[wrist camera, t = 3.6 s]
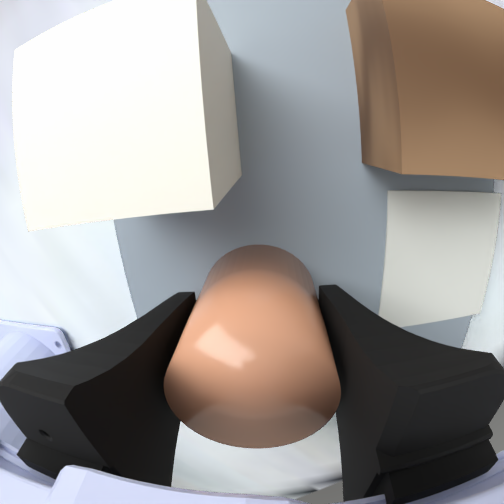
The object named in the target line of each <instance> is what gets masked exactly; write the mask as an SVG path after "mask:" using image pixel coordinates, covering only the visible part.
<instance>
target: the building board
mask: <svg viewBox="0 0 504 504" xmlns="http://www.w3.org/2000/svg"><path fill="white" fill-rule="evenodd" d="M207 2H208V4H209V6H210V8H211V10H212V13H213V15H214V17H215V19H216V21H217V23H218V25H219V27H220V29H221V32H222V34H223V36H224V38H225V40H226V42H227V45H228V47H229V49H230V51H231V57H232V68H233V80H234V92H235V103H236V115H237V126H238V137H239V149H240V160H241V171H242V176H241V177H240V178H239V179H238V180H237V182H236V183H235V184H234V185H233V186H232V188H231V189H230V190H229V191H228V193H227V194H226V195H225V196H224V197H223V199H222V200H221V201H220V202H219V204H218V205H217V206H216V207H215V208H214V210H202V211H191V212H180V213H169V214H160V215H150V216H141V217H132V218H123V219H115V220H114V225H115V230H116V235H117V239H118V244H119V249H120V253H121V258H122V262H123V266H124V270H125V274H126V278H127V282H128V286H129V290H130V294H131V298H132V301H133V305H134V308H135V312H136V315H137V319H138V318H140V317H142V316H143V315H145V314H146V313H148V312H149V311H151V310H152V309H153V308H155V307H156V306H158V305H159V304H161V303H162V302H164V301H165V300H167V299H168V298H169V297H171V296H173V295H174V294H176V293H178V292H195V296H196V300H197V298H198V296H199V293H200V291H201V289H202V287H203V284H204V282H205V280H206V278H207V275H208V273H209V272H210V270H211V268H212V267H213V265H214V264H215V263H216V262H217V261H218V260H219V259H220V258H221V257H222V256H224V255H225V254H227V253H228V252H230V251H232V250H234V249H237V248H239V247H243V246H247V245H270V246H274V247H278V248H281V249H283V250H286V251H287V252H289V253H291V254H293V255H294V256H295V257H297V258H298V259H299V260H300V261H301V262H302V263H303V264H304V265H305V267H306V268H307V269H308V271H309V273H310V275H311V277H312V279H313V282H314V286H315V289H316V293H317V297H318V300H319V286H320V285H334V284H336V285H337V286H339V287H340V288H342V289H343V290H344V291H345V292H347V293H348V294H349V295H350V296H352V297H353V298H354V299H356V300H357V301H358V302H360V303H361V304H362V305H364V306H365V307H367V308H368V309H369V310H371V311H372V312H374V313H376V314H377V315H379V316H380V317H382V318H383V319H385V320H387V321H389V322H390V323H392V324H394V325H396V326H398V327H400V328H402V329H404V330H406V331H408V332H411V333H413V334H415V335H418V336H421V337H423V338H426V339H429V340H431V341H435V342H438V343H441V344H445V345H449V346H453V347H457V348H462V345H463V342H464V339H465V336H466V333H467V330H468V326H469V323H470V320H471V316H472V315H474V314H479V313H480V312H481V308H482V305H483V301H484V297H485V293H486V289H487V285H488V281H489V276H490V271H491V267H492V262H493V256H494V251H495V245H496V238H497V231H498V224H499V215H500V205H501V193H493V185H494V179H487V178H475V177H460V176H441V175H412V174H399V173H396V172H392V171H389V170H385V169H382V168H378V167H375V166H371V165H367V164H363V163H362V154H361V134H360V118H359V106H358V95H357V85H356V76H355V68H354V60H353V53H352V46H351V39H350V33H349V27H348V21H347V16H346V8H347V7H348V5H349V3H350V2H351V0H207Z"/></svg>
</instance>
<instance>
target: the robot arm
mask: <svg viewBox="0 0 504 504" xmlns="http://www.w3.org/2000/svg"><path fill="white" fill-rule="evenodd" d="M195 303H196V296H195V292H178V293H176V294H174V295H173V296H171V297H169V298H168V299H167V300H165V301H164V302H162V303H161V304H159V305H158V306H156V307H155V308H153V309H152V310H151V311H149V312H148V313H146V314H145V315H143V316H142V317H140V318H138V319H137V320H135V321H134V322H132V323H130V324H129V325H127V326H126V327H124V328H122V329H120V330H119V331H117V332H115V333H113V334H111V335H109V336H107V337H105V338H103V339H101V340H98V341H96V342H94V343H91V344H88V345H86V346H83V347H81V348H78V349H75V350H72V351H71V350H70V347H69V345H68V343H67V340H66V338H65V336H64V334H63V332H62V331H61V330H60V329H59V328H56V327H49V326H40V325H32V324H24V323H17V322H10V321H4V320H0V504H310V503H306V502H302V501H298V500H294V499H290V498H287V497H276V496H262V495H252V494H233V493H217V492H206V491H196V490H188V489H181V488H174V487H171V482H172V472H173V464H174V456H175V449H176V443H177V436H178V431H179V426H180V420H179V418H178V417H177V416H176V415H175V414H174V413H173V411H172V410H171V408H170V406H169V404H168V402H167V400H166V397H165V394H164V377H165V374H166V371H167V368H168V366H169V364H170V361H171V359H172V356H173V354H174V352H175V349H176V347H177V345H178V342H179V340H180V337H181V335H182V333H183V330H184V328H185V326H186V323H187V321H188V319H189V316H190V314H191V312H192V309H193V307H194V305H195ZM319 304H320V307H321V311H322V315H323V318H324V322H325V326H326V330H327V333H328V337H329V341H330V345H331V349H332V353H333V357H334V361H335V365H336V369H337V373H338V377H339V381H340V387H341V398H340V402H339V406H338V408H337V410H336V417H337V425H338V432H339V441H340V451H341V463H342V477H343V496H344V497H343V499H344V502H338V503H331V504H504V450H503V451H501V452H499V453H498V454H496V453H495V451H494V449H493V447H492V445H491V443H490V442H489V439H490V438H491V437H492V435H493V433H492V430H491V429H490V427H489V425H488V424H489V423H490V421H491V420H492V418H493V416H494V415H495V413H496V412H497V410H498V409H499V407H500V405H501V403H502V402H503V400H504V368H503V367H502V366H501V364H500V363H499V362H498V361H497V359H496V358H495V357H494V355H493V354H492V353H486V352H480V351H473V350H466V349H461V348H457V347H453V346H449V345H445V344H441V343H438V342H435V341H431V340H429V339H426V338H423V337H421V336H418V335H415V334H413V333H411V332H408V331H406V330H404V329H402V328H400V327H398V326H396V325H394V324H392V323H390V322H389V321H387V320H385V319H383V318H382V317H380V316H379V315H377V314H376V313H374V312H372V311H371V310H369V309H368V308H367V307H365V306H364V305H362V304H361V303H360V302H358V301H357V300H356V299H354V298H353V297H352V296H350V295H349V294H348V293H347V292H345V291H344V290H343V289H342V288H340V287H339V286H337V285H336V284H334V285H320V286H319Z"/></svg>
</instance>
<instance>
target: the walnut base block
mask: <svg viewBox="0 0 504 504" xmlns="http://www.w3.org/2000/svg"><path fill="white" fill-rule="evenodd" d="M346 16H347V21H348V27H349V33H350V39H351V46H352V53H353V60H354V68H355V76H356V85H357V95H358V106H359V118H360V134H361V154H362V163H363V164H367V165H371V166H375V167H378V168H382V169H385V170H389V171H392V172H396V173H399V174H412V175H441V176H460V177H475V178H487V179H499V180H504V9H503V8H501V7H499V6H497V5H495V4H492V3H490V2H488V1H486V0H351V2H350V3H349V5H348V7H347V8H346Z"/></svg>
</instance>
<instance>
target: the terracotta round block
mask: <svg viewBox="0 0 504 504" xmlns="http://www.w3.org/2000/svg"><path fill="white" fill-rule="evenodd" d="M164 394H165V397H166V400H167V402H168V404H169V406H170V408H171V410H172V411H173V413H174V414H175V415H176V416H177V417H178V418H179V420H180V421H182V422H183V423H184V424H185V425H186V426H187V427H189V428H190V429H192V430H193V431H195V432H196V433H198V434H200V435H202V436H204V437H206V438H208V439H210V440H213V441H216V442H219V443H222V444H226V445H230V446H235V447H242V448H271V447H278V446H283V445H287V444H291V443H294V442H297V441H300V440H302V439H304V438H306V437H308V436H310V435H312V434H314V433H315V432H317V431H318V430H320V429H321V428H322V427H323V426H324V425H326V423H327V422H328V421H329V420H330V419H331V418H332V416H333V415H334V414H335V412H336V410H337V408H338V406H339V402H340V398H341V387H340V381H339V377H338V373H337V369H336V365H335V361H334V357H333V353H332V349H331V345H330V341H329V337H328V333H327V330H326V326H325V322H324V318H323V315H322V311H321V307H320V304H319V300H318V297H317V293H316V289H315V286H314V282H313V279H312V277H311V275H310V273H309V271H308V269H307V268H306V267H305V265H304V264H303V263H302V262H301V261H300V260H299V259H298V258H297V257H295V256H294V255H293V254H291V253H289V252H287V251H286V250H283V249H281V248H278V247H274V246H270V245H247V246H243V247H239V248H237V249H234V250H232V251H230V252H228V253H227V254H225V255H224V256H222V257H221V258H220V259H219V260H218V261H217V262H216V263H215V264H214V265H213V267H212V268H211V270H210V272H209V273H208V275H207V278H206V280H205V282H204V284H203V287H202V289H201V291H200V293H199V296H198V298H197V300H196V303H195V305H194V307H193V309H192V312H191V314H190V316H189V319H188V321H187V323H186V326H185V328H184V330H183V333H182V335H181V337H180V340H179V342H178V345H177V347H176V349H175V352H174V354H173V356H172V359H171V361H170V364H169V366H168V368H167V371H166V374H165V377H164Z"/></svg>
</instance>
